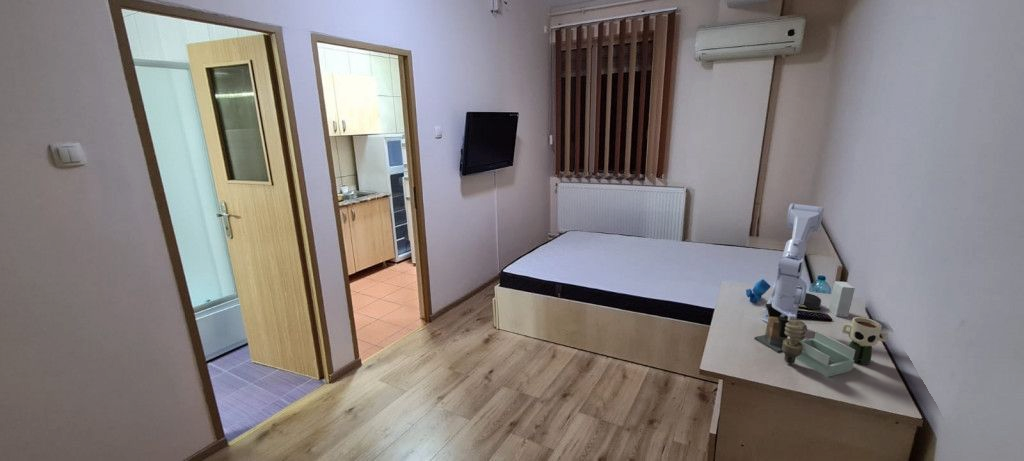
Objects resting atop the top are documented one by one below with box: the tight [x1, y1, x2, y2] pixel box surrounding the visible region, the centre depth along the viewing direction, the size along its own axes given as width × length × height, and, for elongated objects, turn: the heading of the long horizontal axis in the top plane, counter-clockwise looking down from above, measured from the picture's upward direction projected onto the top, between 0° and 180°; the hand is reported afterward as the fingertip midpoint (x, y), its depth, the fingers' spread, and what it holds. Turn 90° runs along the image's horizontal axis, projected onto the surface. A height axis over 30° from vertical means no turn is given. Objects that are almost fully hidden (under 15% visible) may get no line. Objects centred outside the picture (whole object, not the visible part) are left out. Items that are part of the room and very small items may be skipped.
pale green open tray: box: [795, 330, 855, 378], centre depth 133 cm, size 13×11×6 cm
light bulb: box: [782, 318, 808, 365], centre depth 131 cm, size 6×6×15 cm
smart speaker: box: [803, 292, 822, 311], centre depth 171 cm, size 9×9×4 cm
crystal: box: [745, 278, 771, 304], centre depth 175 cm, size 7×9×12 cm
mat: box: [753, 334, 783, 353], centre depth 144 cm, size 9×9×1 cm
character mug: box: [841, 316, 889, 365], centre depth 133 cm, size 11×7×13 cm, turn 58°
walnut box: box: [764, 317, 788, 345], centre depth 143 cm, size 4×5×8 cm
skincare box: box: [828, 280, 856, 318], centre depth 163 cm, size 6×4×12 cm
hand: (778, 331), depth 143 cm, fingers open, 7 cm apart
